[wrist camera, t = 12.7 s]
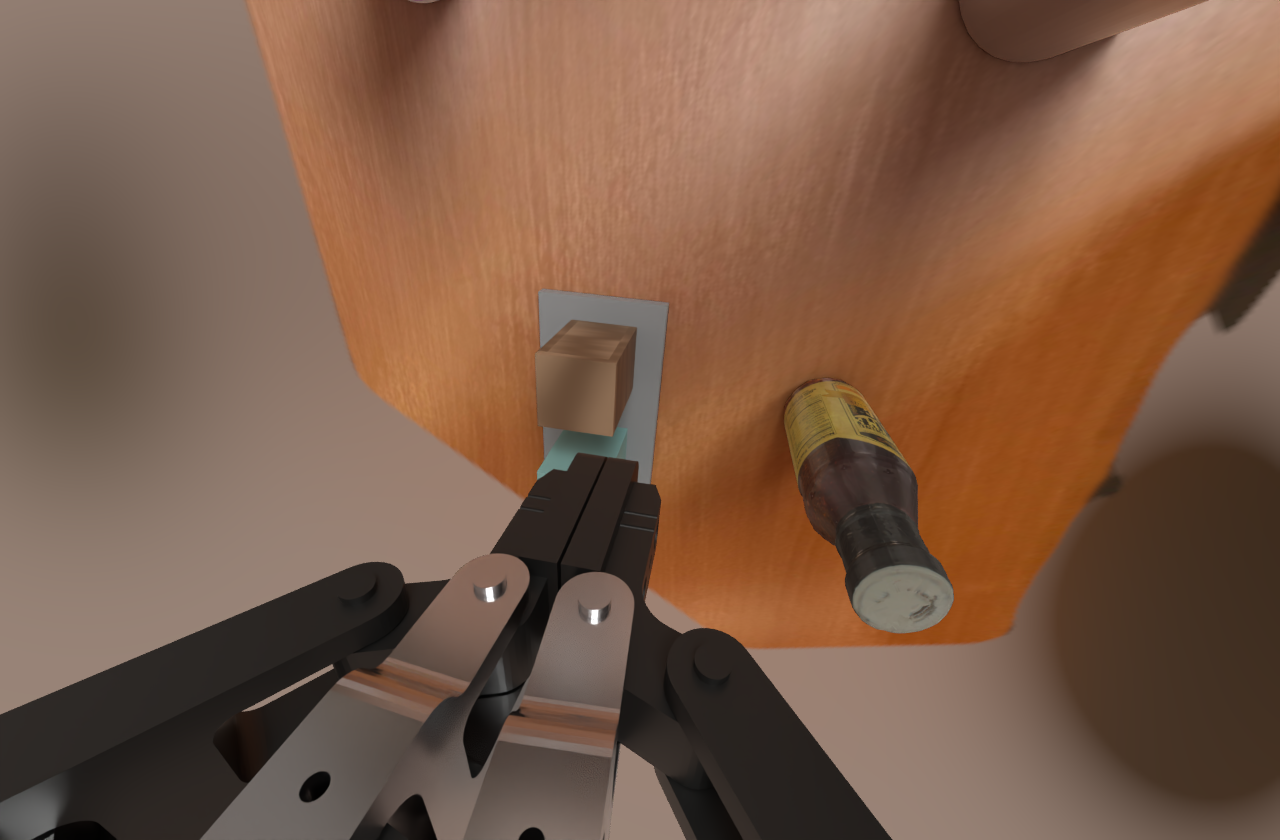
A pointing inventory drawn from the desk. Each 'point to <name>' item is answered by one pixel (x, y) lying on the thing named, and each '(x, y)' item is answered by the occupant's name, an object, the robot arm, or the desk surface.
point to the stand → (642, 406)
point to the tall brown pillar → (585, 377)
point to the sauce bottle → (865, 506)
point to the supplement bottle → (423, 1)
